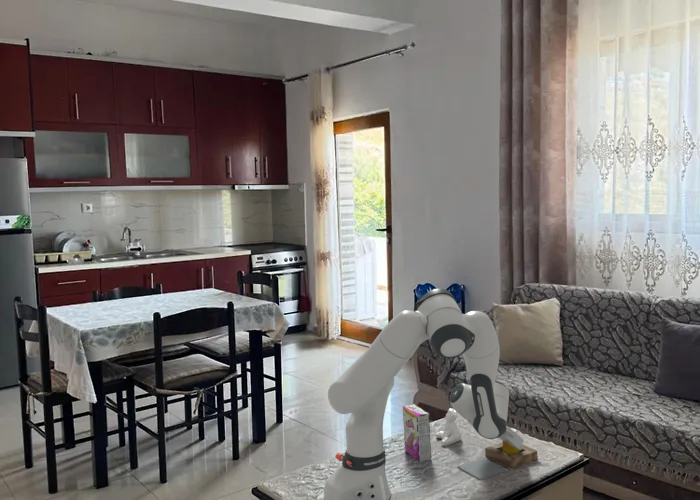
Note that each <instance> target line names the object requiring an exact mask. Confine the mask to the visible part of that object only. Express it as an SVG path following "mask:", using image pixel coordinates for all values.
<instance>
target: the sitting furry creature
mask: <svg viewBox="0 0 700 500" xmlns="http://www.w3.org/2000/svg"><path fill="white" fill-rule="evenodd" d="M458 415H459V413H458V412H457V411H456V410H455V409H454V408H453V407H452V408H451V407H450V408H448V410H447V413H446V414H445V418H444V419H445V423H444V425H443V427H444V428H443V430H441V431H437V432H436V433H435V438H436V439H439V440H441V446H442V447H447V446H452V445H453V444H456V443H458V442H459V441H460V440H461V439H462V435H463V434H462V432H461V430H460V428H459V427H458V425H457V422H456V420H457V419H458Z"/></svg>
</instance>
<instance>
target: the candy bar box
mask: <svg viewBox="0 0 700 500" xmlns="http://www.w3.org/2000/svg"><path fill="white" fill-rule="evenodd" d="M402 418H403V419H402V421H403V437H404V452H406V453H407V454H408V455H410V457H412V458H414V459H415V461H417V462H418V463H423V462H428V461H431V460H432V447H431V427H430V413H429V412H427V411H426V410H424V409H422V408H421V407H419V406H418V405H416V404H414V403H413V404H407V405H404V406H402Z"/></svg>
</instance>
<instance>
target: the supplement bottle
mask: <svg viewBox="0 0 700 500" xmlns="http://www.w3.org/2000/svg"><path fill="white" fill-rule="evenodd" d="M509 428H510V429H512V430H513V431H514V432H516V433H517V429H516V428H513V427H509ZM517 434H518V433H517ZM502 443H503V452H504V453H506V454H508V455H513V454H517V453H519V449H517V448H515V447H513V446H511V445H510V444H508V443H506V442H504V441H502Z"/></svg>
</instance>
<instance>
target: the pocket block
mask: <svg viewBox="0 0 700 500" xmlns="http://www.w3.org/2000/svg"><path fill="white" fill-rule="evenodd" d="M522 445H523V448H522V449H521V450H519V453H517V454H513V455H508V454H506V453H504V452H503V442H501V443H500V442H499V443H496V444H493V445H490V446H487V447H485V448H484V453H485V454H484V455H485V457H484V458H488V459H489V460H490V461H491V460H492V462H494V463H498V464H500V465H501V466H504V467H506V468H508V469H509V470H511V469H514V468H517V467H520V466H523V465H526V464H529V463H532V462H535V461H537V460H539V459H538V450H536V449H534V448H531V447H529V446H527V445H524V444H523V443H522Z"/></svg>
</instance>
